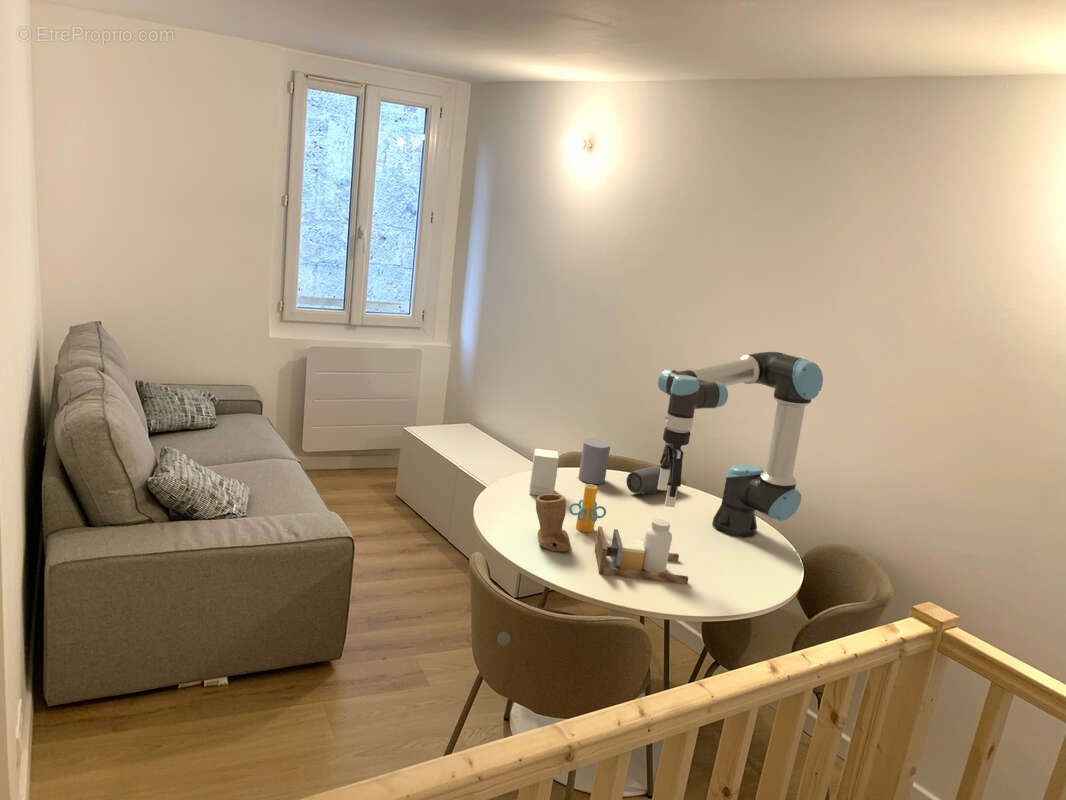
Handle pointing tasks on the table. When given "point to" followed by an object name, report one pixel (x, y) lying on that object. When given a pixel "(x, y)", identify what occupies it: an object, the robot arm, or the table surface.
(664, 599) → the table surface
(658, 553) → the pill bottle
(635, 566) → the cream cube
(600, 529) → the lane
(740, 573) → the table surface
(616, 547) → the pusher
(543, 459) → the supplement box
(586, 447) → the container
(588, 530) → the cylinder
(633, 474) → the bluetooth speaker
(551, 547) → the brown felt boot
